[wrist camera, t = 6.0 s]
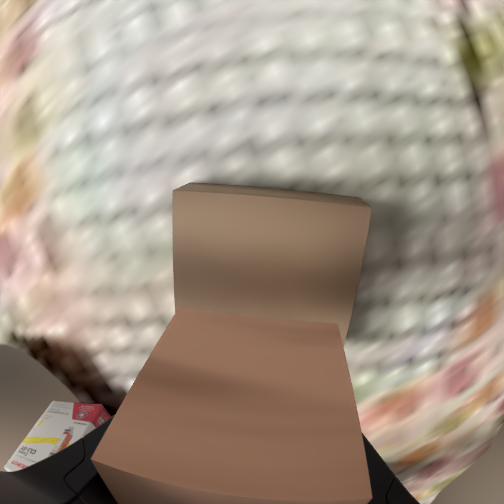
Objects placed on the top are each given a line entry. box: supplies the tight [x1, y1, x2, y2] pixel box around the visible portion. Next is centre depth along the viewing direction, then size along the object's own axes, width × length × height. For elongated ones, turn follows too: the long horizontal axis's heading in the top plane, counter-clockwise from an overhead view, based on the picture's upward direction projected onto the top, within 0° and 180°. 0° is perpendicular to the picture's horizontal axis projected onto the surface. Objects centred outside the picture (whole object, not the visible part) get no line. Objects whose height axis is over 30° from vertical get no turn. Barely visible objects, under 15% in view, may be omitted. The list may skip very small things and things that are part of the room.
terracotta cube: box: [91, 307, 372, 504], centre depth 8 cm, size 5×5×6 cm
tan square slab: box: [173, 183, 372, 347], centre depth 18 cm, size 10×10×3 cm
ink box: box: [4, 401, 111, 472], centre depth 22 cm, size 9×5×12 cm, turn 105°
